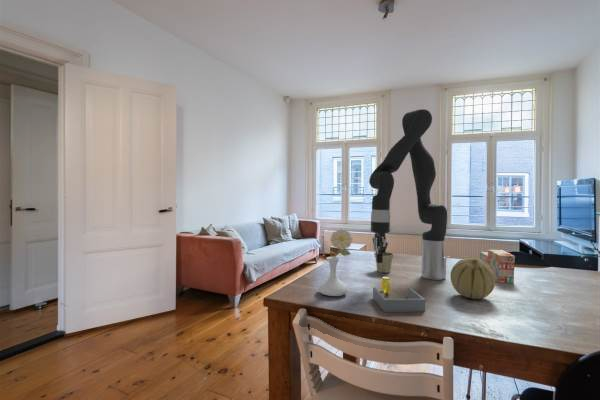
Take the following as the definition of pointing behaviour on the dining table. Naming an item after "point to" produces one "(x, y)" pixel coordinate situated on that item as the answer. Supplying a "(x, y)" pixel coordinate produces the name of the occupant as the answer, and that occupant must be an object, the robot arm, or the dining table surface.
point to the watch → (387, 287)
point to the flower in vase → (333, 284)
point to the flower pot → (385, 262)
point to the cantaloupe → (472, 278)
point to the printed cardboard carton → (500, 265)
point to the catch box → (400, 302)
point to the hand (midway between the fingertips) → (379, 262)
